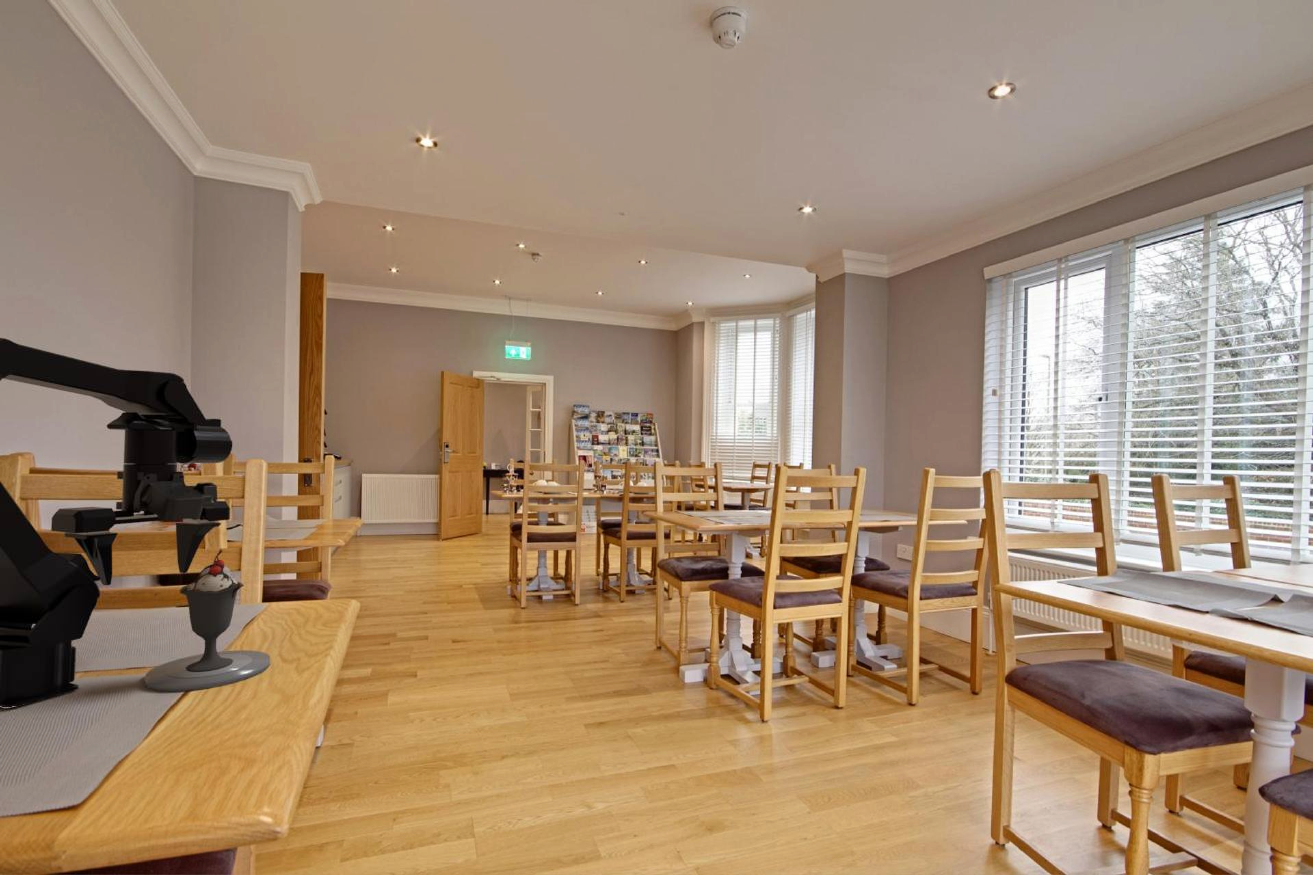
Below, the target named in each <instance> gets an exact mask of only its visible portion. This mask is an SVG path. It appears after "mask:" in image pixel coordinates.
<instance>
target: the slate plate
mask: <svg viewBox="0 0 1313 875" xmlns="http://www.w3.org/2000/svg"><path fill="white" fill-rule="evenodd" d="M217 653H218V655H219V656H220V657H222V658H230V659H232V660H233V663H232V664H231V665H229V666H227V667H224V668H221V669H217V670H212V671H205V672H191V671H187V670H186V667H187V666H188V665H190V664H192V663H194V662H197V661H199V660H200V659H201V658H202V656H203V654H204V653H201V654H195V655H191V656H186V657H181V658H178V659H175V660H171V661H168V662H166V663H162V664H160V665H158V666H156V667H153V668H152V669H150V670H149V671H147V672H146V674H145V676H144V686H146V688H149V689H150V690H153V691H159V692H161V691H162V692H188V691H189V692H190V691H199V690H205V689H212V688H217V687H221V686H223V687H224V686H227V685H230V684H234V683H238V682H241V681H244V680H245V681H246V680H248V679H249V678H250V679H251V678H253V677H255V676H258V675H259V674H261V673H263V672H265V671H267V669H268V668H269V667H270V665H271V657H270V655H269V654H268V653H266V652H263V651H257V650H250V649H249V650H248V649H247V650H244V649H243V650H242V649H240V650H225V651H224V650H223V651H217Z"/></svg>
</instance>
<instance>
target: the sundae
mask: <svg viewBox="0 0 1313 875" xmlns="http://www.w3.org/2000/svg"><path fill="white" fill-rule="evenodd" d="M222 553H223V549H221V548H220V549H219V551H218V553H217V554H216V556H215V558H214V560H213V563H212V564H209V565H207V566H205V567H204V568H203V569H202V570H201V571H200V572H199V575H198V576H197V578H196V579H195V580H193V581H192V582H191V583H190V584H187V585H184V586H183V587H181V588H180V590H179V593H180V594H182V595H185V596H186V599H187V604H188V612H189V613H188V614H189V621H190V626H191V629H192V630H191V631H192V632H193V633H195V635H197V636H198V637H200V638H201V639H203V641H204V650H203V653H202V654H203V656H202V658H201V659H200V660H199V661H197V662H194V663H192V664H190V665H188V666H187V667H186V670H187V671H191V672H205V671H212V670H217V669H221V668H224V667H227V666H229V665H231V664H232V663H233V660H232V659H230V658H222V657H220V656H219V655H218V653H217V652H218V651H217V639H218V638H219V636H221V635H222V634H223V633H225V632H226V631H227V630H228V628H229V627H230V626H231V621H232V618H233V613H234V608H235V603H236V602H235V601H236V598H237V594H238V592H239V589H241V588H242V587H244V584H243V583H241V582H240V581H237V579H235V578H234V576H232V572H231V570H230V569H229V568H228V567H227V566H226V565H225V561H223V560H222V559H220V558H219V555H220V554H222Z"/></svg>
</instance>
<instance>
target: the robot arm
mask: <svg viewBox="0 0 1313 875" xmlns="http://www.w3.org/2000/svg"><path fill="white" fill-rule="evenodd" d="M3 379H4V380H8V381H13V382H18V383H22V384H29V385H33V386H38V387H39V386H40V387H44V388H49V389H53V390H59V391H63V392H68V393H73V394H77V395H83V396H88V397H90V398H91V397H92V398H95V399H96V400H100V401H101V402H102V403H104V404H105V405H107V406H108V407H111V408H114V409H117V410H119V411H122V413H121V414H120V416H118V417H117V418H116V419H113V420H112V421H110V422H109V423H108V424H107V425H106V428H107V429H108V430H117V431H118V430H120V431H124V444H123V445H124V447H123V448H124V449H123V469H122V470H123V471H120V470H119V471H118V470H117V472H116V474H117V476H116V480H122V494H121V495H122V498H121V501H116V502H115V503H116V504H115V510H114V509H113V508H112V507H99V506H98V507H97V506H84V507H83V506H82V507H69V508H68V507H67V508H65V507H64V508H59V509H58V510H57V511H56V512H55V513H54V514H53V516H52V517H51V527H50V528H51V530H50V532H56V533H57V532H58V533H59V532H60V533H64V534H63V535H64V538H69V539H70V538H73V539H74V541H75V542H76V543H77V545H78V546H79V547H80V549H81V550H82V552H84V554H85V555H86V557H87V558H88V561H89V562H90V565H92V568H93V569H94V571H95V573H94V572H93V571H92V569H91V568H90V566H89V563H88V561H87V559H86V558H85V556H84V555H82V554H81V553H77V552H76V553H73V552H54V551H52V550H51V549H50V548H49V547H48V545H47V544H46V543H45V541H44V540H43V539H42V537H41V536H40V534H39V533H38V531H37V530H36V529H35V527H34V525H33V524H32V523H31V522H30V520H29V518H28V517H27V516H26V514H25V513H24V512H23V510H22V508H20V506H19V505H18V503H17V501H16V500H15V499H14V498H13V496H12V495H11V494H10V492H9V491H8V489H7V488H6V487H5V485H4V483H2V480H0V706H2V707H12V706H18V707H21V706H24V705H23V704H25V705H28V704H31V703H35V702H38V701H43V700H46V699H49V698H52V697H56V696H59V695H64V694H67V693H70V692H73V691H77V690H79V684H76V683H73V682H74V681H75V678H76V660H77V659H76V658H77V657H76V656H77V648H76V646H74V645H72V643H73V641H76V640H81V639H82V638H83V636H84V633H85V631H86V628H87V626H88V623H89V620H90V619H91V616H92V613H93V611H94V609H95V608H96V606H97V603H98V601H99V600H98V599H100V598H101V591H100V587H99V586H98V583H96V582H98V581H100V583H101V584H102V586H111V584H112V579H113V544H114V542H115V539H116V538H117V536H118V532H113V531H111V528H113V527H114V526H115V525H127V524H136V523H148V522H149V523H150V522H161V521H164V522H175V532H176V533H175V534H176V535H175V536H176V553H177V554H176V557H177V558H176V559H177V565H178V570H179V573H180V574H186V573H188V572H189V569H190V567H191V565H192V563H193V560H194V559H195V556H196V554H197V551H198V549H199V547H200V545H201V543H202V541H203V540H204V538H205V536H206V535H207V534H208V533H209V532H210V531H212V530H213V529H214V528H217V527H220V526H221V524H222V522H219V521H229V520H231V507H230V506H229V504H228V502H227V501H226V500H218V486H217V485H216V484H214V483H213V482H197V483H196V484H195V485H186V482H185V475H184V471H179V470H178V464H183V465H184V464H218V463H219V464H220V463H223V462H224V461H226V460H227V459H229V456H230V454H231V453H232V450H233V440H232V439H231V435H230V434H229V432H228V431H227V430H226V429H225V428H223V427H222V420H221V419H220V418H206V417H205V416H204V414H203V412H202V410H201V408H200V407H199V406H198V404H197V403H196V401H195V399H194V398H193V396H192V394H191V392H190V390H188V388H187V384H186V383H185V380H184V378H183V377H182V376H180V375H179V374H176V373H174V372H164V371H163V372H161V371H151V370H135V369H134V370H133V369H132V370H131V369H120V368H115V367H111V366H110V367H109V366H106V365H103V364H99V363H94V362H91V361H86V360H82V359H79V358H74V357H71V356H67V355H63V354H58V353H54V352H51V351H46V350H44V349H39V348H34V347H31V346H27V345H23V344H20V343H16V342H14V341H12V340H10V339H8V338H4V337H0V382H1V381H2V380H3ZM141 512H143V513H141ZM179 520H182V522H181V521H179ZM177 521H179V522H177ZM20 705H21V706H20Z"/></svg>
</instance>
